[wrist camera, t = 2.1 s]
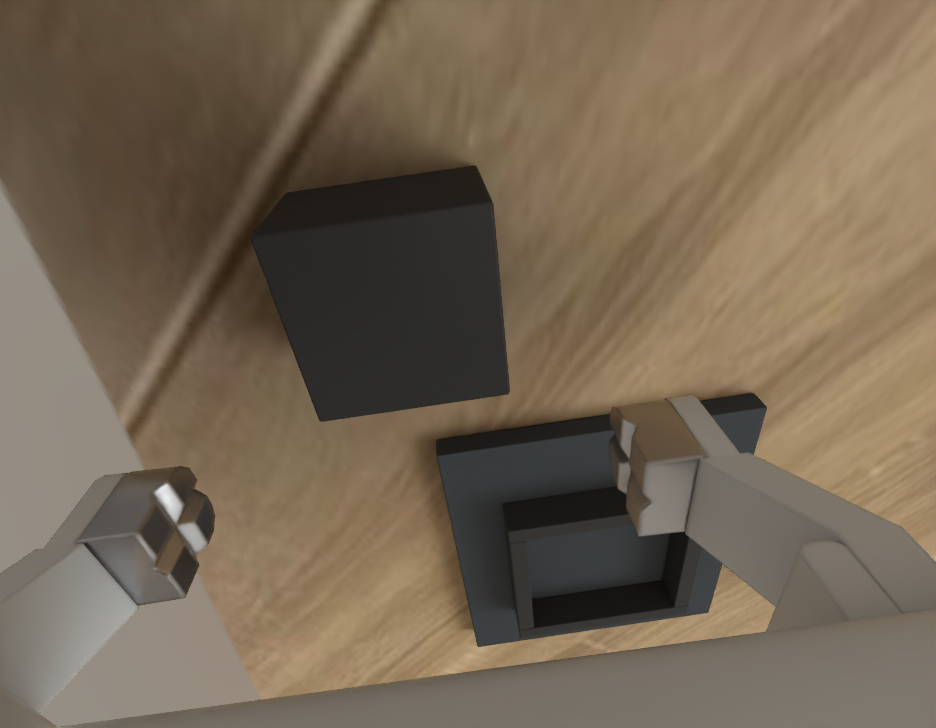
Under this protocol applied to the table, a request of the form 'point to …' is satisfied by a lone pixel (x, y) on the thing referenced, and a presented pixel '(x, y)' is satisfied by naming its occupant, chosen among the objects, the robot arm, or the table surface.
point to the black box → (389, 291)
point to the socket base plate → (569, 531)
